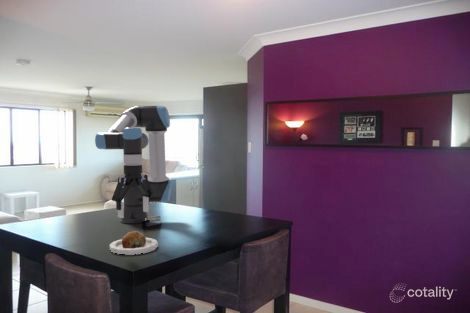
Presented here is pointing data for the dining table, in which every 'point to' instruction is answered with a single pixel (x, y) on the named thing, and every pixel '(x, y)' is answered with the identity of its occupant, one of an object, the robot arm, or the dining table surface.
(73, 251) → the dining table surface
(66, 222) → the dining table surface
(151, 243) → the dish
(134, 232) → the bread roll
